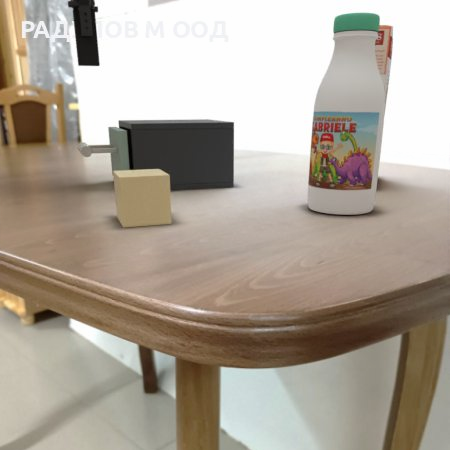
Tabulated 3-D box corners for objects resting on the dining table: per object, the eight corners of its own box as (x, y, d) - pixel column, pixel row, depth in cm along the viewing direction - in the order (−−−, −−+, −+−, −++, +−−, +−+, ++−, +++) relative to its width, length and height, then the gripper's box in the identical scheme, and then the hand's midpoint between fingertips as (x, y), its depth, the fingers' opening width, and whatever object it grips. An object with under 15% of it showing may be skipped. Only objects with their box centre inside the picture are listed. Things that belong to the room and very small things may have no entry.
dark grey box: (135, 192, 68) (130, 123, 65) (122, 180, 79) (118, 120, 76) (233, 187, 72) (234, 122, 69) (208, 175, 84) (208, 119, 80)
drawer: (85, 188, 66) (79, 131, 64) (80, 176, 76) (74, 127, 74) (214, 181, 72) (214, 129, 69) (193, 171, 82) (192, 125, 79)
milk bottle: (320, 201, 62) (333, 23, 55) (381, 207, 59) (404, 17, 51) (296, 211, 56) (307, 13, 49) (362, 219, 53) (385, 5, 45)
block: (123, 227, 49) (119, 177, 47) (116, 217, 54) (112, 170, 52) (171, 223, 51) (169, 174, 49) (161, 214, 55) (159, 168, 53)
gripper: (106, -180, 53) (123, 62, 62) (95, -129, 64) (111, 69, 73) (32, -192, 50) (61, 61, 59) (34, -138, 62) (58, 68, 71)
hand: (88, 65), depth 66 cm, fingers closed
